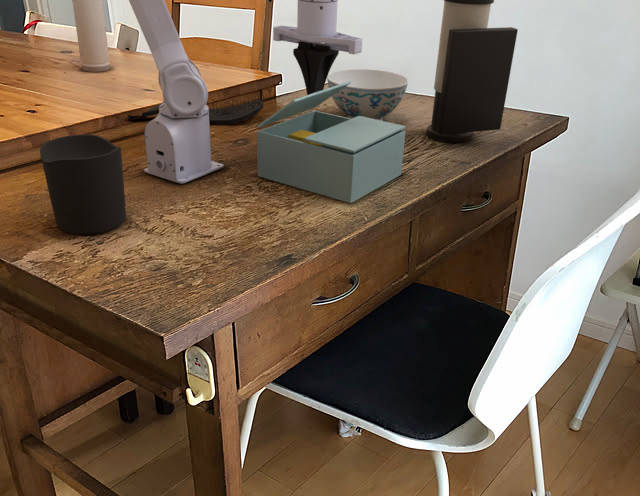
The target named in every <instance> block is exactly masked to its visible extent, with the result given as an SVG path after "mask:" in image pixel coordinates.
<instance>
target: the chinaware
mask: <svg viewBox="0 0 640 496" xmlns="http://www.w3.org/2000/svg"><path fill="white" fill-rule="evenodd" d="M326 81H327V86H328V88H330V87H333V86H336V85H339V84H342V83H345V82H348V81H351V83H350V84H349V85H347V86H346V87H344V88H343V89H342V90H340V91H339V92H337V93H336V94H334V95H333V96H331V98H332V101H333V103H334V104H335V105H336V106H337V108H338V109H339V111H341V112H342V113H343V114H344V115H346V118H350V119H352V118H355V117H357V116H363V117H367V118H372V119H376V120H381V121H384V120H383V119H384V117H386V116H388V115H389V114H391V113H392V112H393V111H394V110H395V109H396V108H397V107H398V106H399V104H400V103H401V102H402V100H403V98H404V96H405V93H406V91H407V88H408V85H409V80H408V78H407V77H405V76H404V75H401V74H399V73H395V72H390V71H387V70H379V69H369V68H367V69H366V68H351V69H350V68H349V69H341V70H336V71H332V72H331V73H330V72H329V73H328V76H327V79H326Z"/></svg>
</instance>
